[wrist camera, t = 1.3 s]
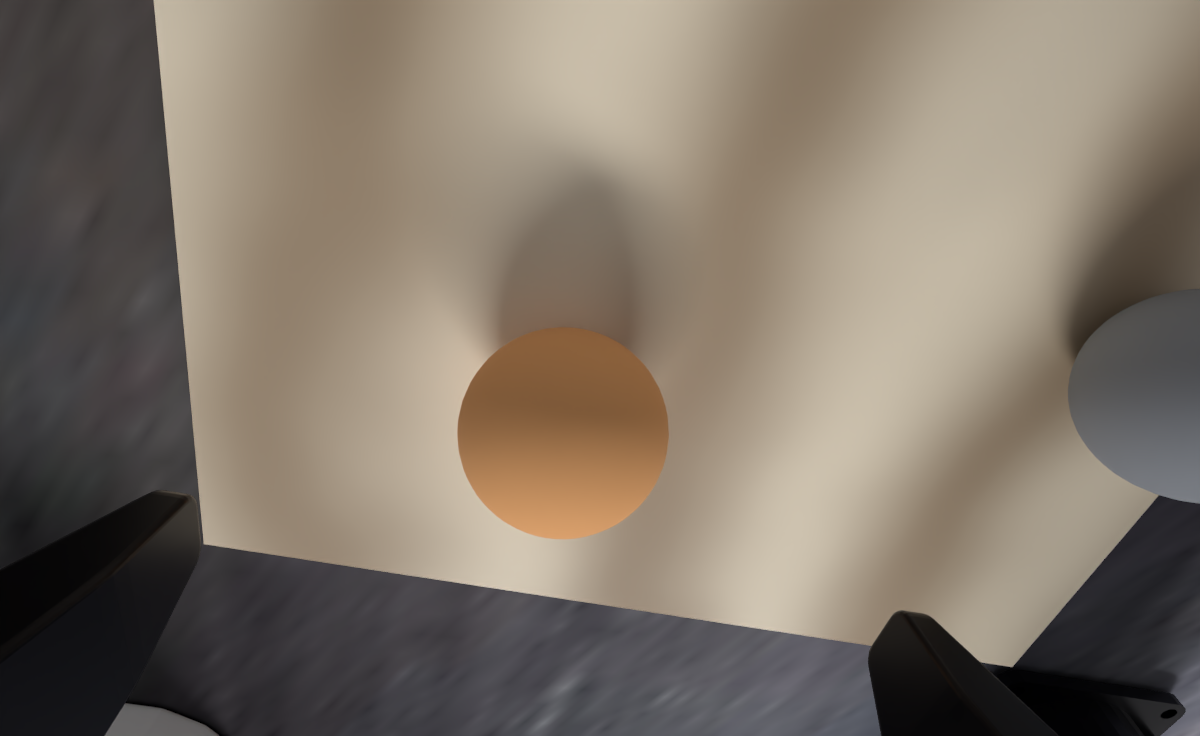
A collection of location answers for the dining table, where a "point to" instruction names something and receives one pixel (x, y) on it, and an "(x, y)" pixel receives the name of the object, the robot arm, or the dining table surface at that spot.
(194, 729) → the white cup
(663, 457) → the ball
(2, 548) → the dining table surface
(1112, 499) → the board
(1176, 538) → the dining table surface
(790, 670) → the dining table surface
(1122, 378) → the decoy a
